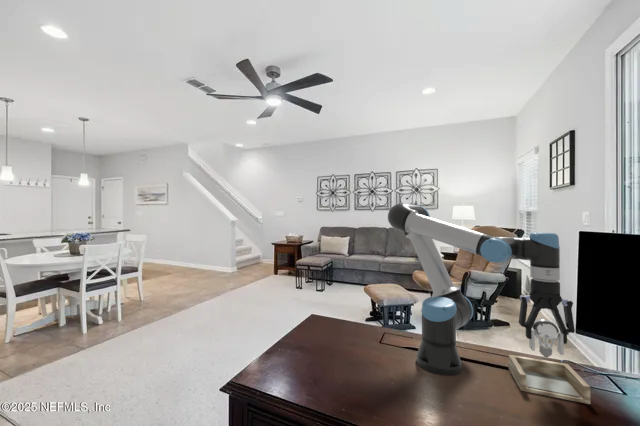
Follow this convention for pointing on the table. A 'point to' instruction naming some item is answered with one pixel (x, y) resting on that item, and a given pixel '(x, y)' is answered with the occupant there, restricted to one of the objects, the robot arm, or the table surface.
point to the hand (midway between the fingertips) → (545, 350)
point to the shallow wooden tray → (548, 379)
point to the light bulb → (545, 335)
